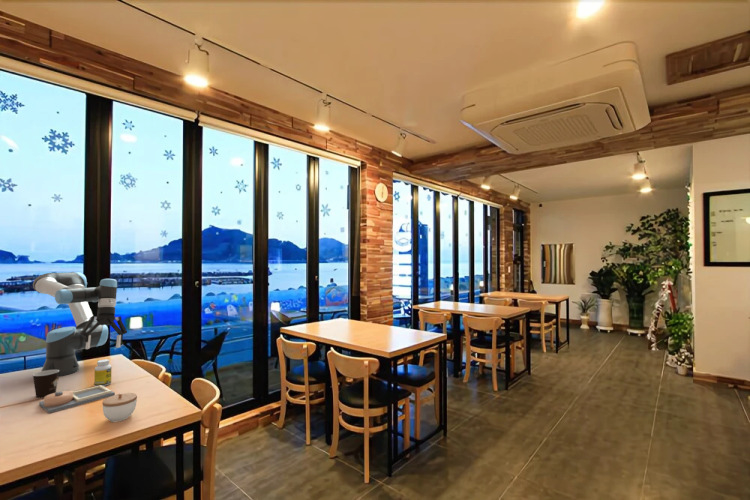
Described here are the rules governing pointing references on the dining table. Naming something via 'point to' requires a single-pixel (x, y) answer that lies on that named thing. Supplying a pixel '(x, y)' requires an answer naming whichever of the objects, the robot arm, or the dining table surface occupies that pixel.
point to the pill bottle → (103, 373)
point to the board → (74, 398)
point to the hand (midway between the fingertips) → (103, 348)
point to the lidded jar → (119, 406)
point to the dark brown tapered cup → (45, 382)
